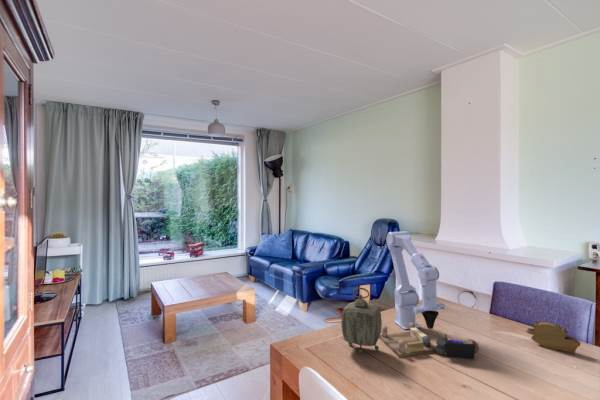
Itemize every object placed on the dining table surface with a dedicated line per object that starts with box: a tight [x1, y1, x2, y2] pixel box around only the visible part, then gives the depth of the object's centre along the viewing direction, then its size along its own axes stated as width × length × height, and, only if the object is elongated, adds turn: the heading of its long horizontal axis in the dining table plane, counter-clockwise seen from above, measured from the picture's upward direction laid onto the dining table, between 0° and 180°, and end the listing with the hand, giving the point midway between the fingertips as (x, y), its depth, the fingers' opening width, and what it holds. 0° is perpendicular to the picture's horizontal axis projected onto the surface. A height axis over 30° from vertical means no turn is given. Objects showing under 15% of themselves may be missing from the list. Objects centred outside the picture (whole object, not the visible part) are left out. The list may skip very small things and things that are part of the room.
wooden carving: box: [525, 321, 581, 354], centre depth 123 cm, size 16×5×10 cm, turn 47°
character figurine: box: [435, 333, 480, 360], centre depth 119 cm, size 8×7×15 cm
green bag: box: [340, 287, 383, 354], centre depth 125 cm, size 14×9×25 cm, turn 65°
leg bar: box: [409, 328, 432, 347], centre depth 129 cm, size 11×3×3 cm, turn 12°
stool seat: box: [379, 323, 437, 358], centre depth 129 cm, size 17×17×5 cm
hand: (430, 328), depth 132 cm, fingers closed
